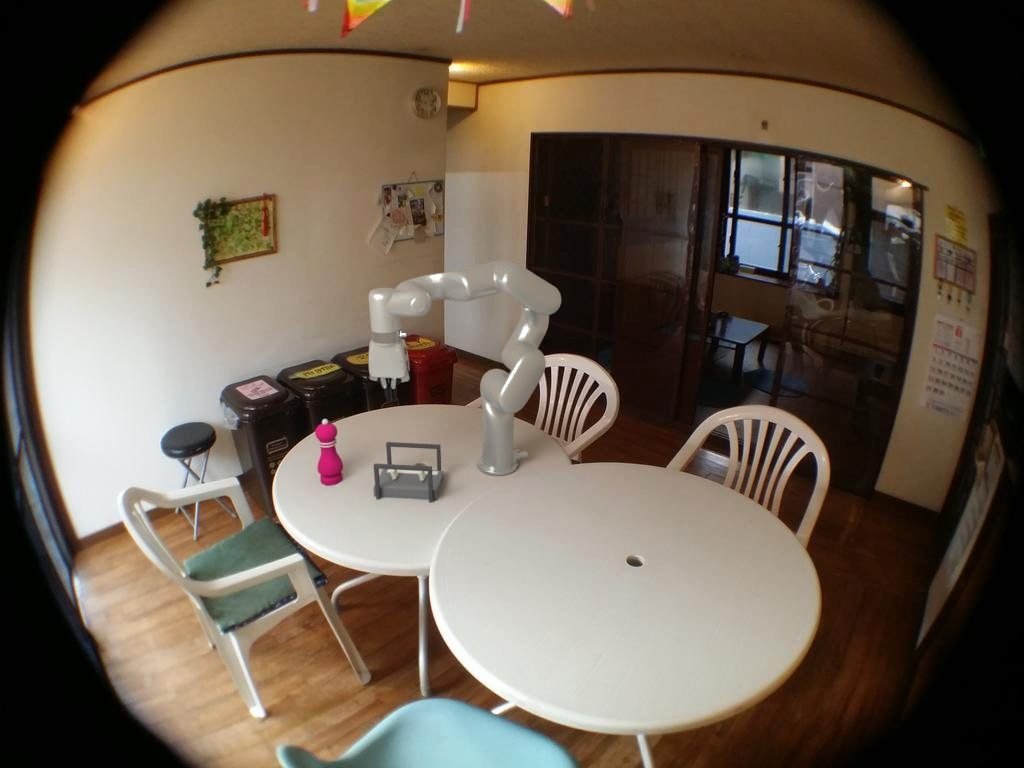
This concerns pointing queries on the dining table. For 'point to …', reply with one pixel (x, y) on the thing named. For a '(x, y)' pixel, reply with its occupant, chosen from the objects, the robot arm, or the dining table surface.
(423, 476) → the cream cuboid
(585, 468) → the dining table surface
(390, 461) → the dark grey open frame
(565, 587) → the dining table surface
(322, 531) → the dining table surface
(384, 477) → the breaker panel
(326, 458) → the pepper mill
